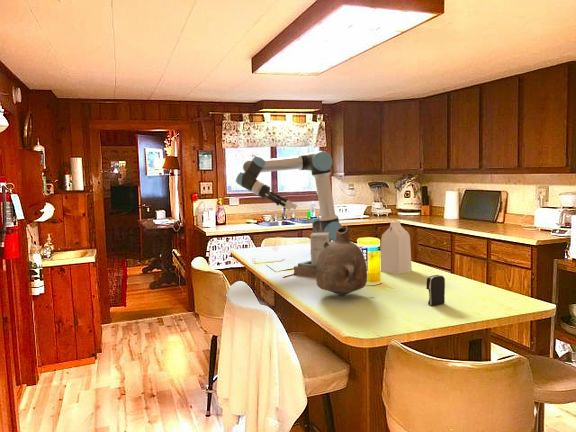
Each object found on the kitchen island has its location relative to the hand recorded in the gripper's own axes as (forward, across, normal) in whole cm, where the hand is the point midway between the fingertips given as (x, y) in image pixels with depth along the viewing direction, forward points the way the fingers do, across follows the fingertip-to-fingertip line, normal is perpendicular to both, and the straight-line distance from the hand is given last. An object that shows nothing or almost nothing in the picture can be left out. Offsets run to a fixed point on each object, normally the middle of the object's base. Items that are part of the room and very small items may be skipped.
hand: (293, 208), depth 267 cm
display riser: (+32, +15, -20) cm, 41 cm away
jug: (+47, +59, -15) cm, 77 cm away
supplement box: (+30, +16, -17) cm, 38 cm away
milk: (+65, +7, -2) cm, 65 cm away
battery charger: (+80, +66, +3) cm, 104 cm away
